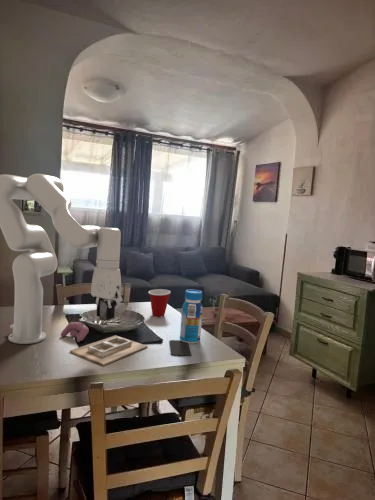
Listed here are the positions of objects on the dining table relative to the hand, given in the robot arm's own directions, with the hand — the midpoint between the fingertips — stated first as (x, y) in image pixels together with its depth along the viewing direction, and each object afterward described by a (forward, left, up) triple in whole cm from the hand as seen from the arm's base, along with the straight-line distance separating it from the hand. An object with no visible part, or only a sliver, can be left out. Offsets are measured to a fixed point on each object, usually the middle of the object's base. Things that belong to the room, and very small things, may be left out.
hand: (105, 316), depth 127 cm
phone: (+17, +22, -13) cm, 31 cm away
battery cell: (0, 0, -1) cm, 1 cm away
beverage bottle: (+15, +32, -13) cm, 38 cm away
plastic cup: (-15, +50, -13) cm, 54 cm away
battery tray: (0, +3, -13) cm, 13 cm away
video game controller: (-18, +3, -13) cm, 22 cm away
